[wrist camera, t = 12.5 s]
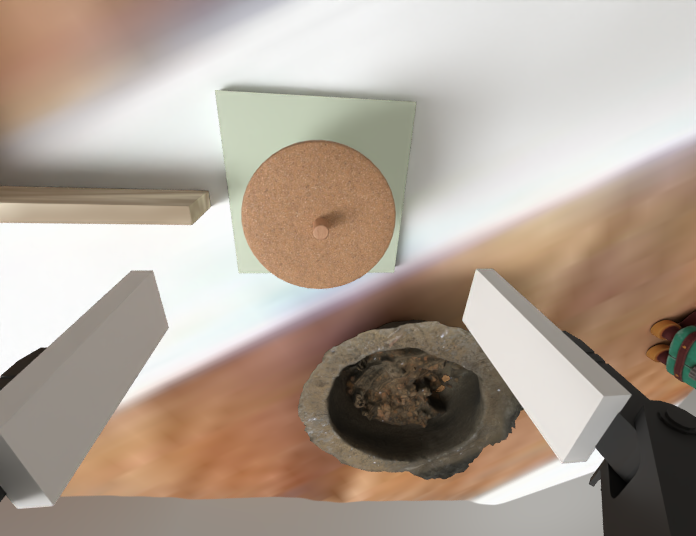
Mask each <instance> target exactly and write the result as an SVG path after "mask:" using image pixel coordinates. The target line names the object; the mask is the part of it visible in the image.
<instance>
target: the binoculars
mask: <svg viewBox="0 0 696 536" xmlns="http://www.w3.org/2000/svg"><path fill="white" fill-rule="evenodd" d="M651 333H652V334H653V335H654V336H656V337H658V338H659V339H662V340H665V339H667V340H669V341H671V345H670V346H669V345H665V344H660V345H656V346H654V347H652V348H650V349H649V350H648V351H647V354H646V355H647V357H649V358H650V359H652V360H653V361H655V362H662V363H663V364H665V365H666V369H667V371H668V372H669V373H670V374H672V375H674V376H675V378H677V379H678V380H680V381H682V382H685V383H687V384H688V385H690V386H692V387H693V388H695V389H696V311H695V312H693V313H692V314H691V315H689V316H688V317H687V318H686V319H685V320H684V321H683V322H680V323H678V324H677V323H675V322H673V321H671V320H663V321H660V322H658V323H656V324H655V325H654V326H653V327H652V328H651Z"/></svg>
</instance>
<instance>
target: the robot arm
mask: <svg viewBox="0 0 696 536" xmlns="http://www.w3.org/2000/svg"><path fill="white" fill-rule="evenodd" d="M462 321H463V322H464V324H465V325H466V327H467V328H468V329H469V331H470V332H471V334H472V335H473V337H474V338H475V339H476V341H477V342H478V344H479V345H480V347H481V348H482V350H483V351H484V352H485V354H486V355H487V357H488V358H489V360H490V361H491V362H492V364H493V365H494V367H495V368H496V370H497V371H498V372H499V374H500V375H501V377H502V378H503V380H504V381H505V383H506V384H507V385H508V387H509V388H510V390H511V391H512V393H513V394H514V395H515V397H516V398H517V400H518V401H519V403H520V404H521V406H522V407H523V408H524V410H525V411H526V413H527V414H528V416H529V417H530V418H531V420H532V421H533V423H534V424H535V426H536V427H537V428H538V430H539V431H540V433H541V434H542V436H543V437H544V439H545V440H546V441H547V443H548V444H549V446H550V447H551V449H552V450H553V451H554V453H555V454H556V456H557V457H558V459H559V460H560V461H561V463H562V464H563V463H575V462H586V461H587V460H588V458H589V457H590V455H591V454H592V453H593V451H594V450H595V448H596V449H597V450H598V451H599V452H600V454H601V455H602V456H603V457H604V458H605V459H604V460H603V462H602V463H601V465H600V466H599V467H598V469H597V470H596V472H595V473H594V474H593V476H592V477H591V479H590V482H589V484H590V485H592V486H595V484H596V483H597V481H598V480H600V479H601V491H602V509H603V510H602V511H603V530H604V536H696V417H695V416H693V415H691V414H690V413H688V412H687V411H685V410H683V409H681V408H679V407H677V406H675V405H673V404H669V403H666V402H662V401H653V400H649V399H648V398H647V397H646V396H644V395H643V394H642V393H641V392H640V391H639V390H638V389H636V388H635V387H634V386H633V385H632V384H631V383H630V382H628V381H627V380H626V379H625V378H624V377H623V376H622V375H620V374H619V373H618V372H617V371H616V370H615V369H614V368H612V367H611V366H610V365H609V364H606V363H605V361H604V360H603V359H602V358H601V357H600V356H599V355H598V354H595V353H594V351H593V350H592V349H591V348H589V347H588V346H587V345H586V344H585V343H584V342H583V341H581V340H580V339H578V338H576V337H575V336H573V335H571V334H570V333H568V332H566V331H561V330H560V329H559V328H558V327H557V326H555V325H554V324H553V323H552V322H551V321H550V320H549V319H548V318H547V317H545V316H544V315H543V314H542V313H541V312H540V311H539V310H538V309H537V308H536V307H534V306H533V305H532V304H531V303H530V302H529V301H528V300H527V299H526V298H525V297H523V296H522V295H521V294H520V293H519V292H518V291H517V290H516V289H515V288H513V287H512V286H511V285H510V284H509V283H508V282H507V281H506V280H505V279H504V278H502V277H501V276H500V275H499V274H498V273H497V272H496V271H495V270H494V269H476V271H475V275H474V278H473V282H472V286H471V289H470V293H469V297H468V301H467V304H466V308H465V312H464V315H463V319H462ZM168 328H169V327H168V323H167V320H166V316H165V313H164V309H163V305H162V302H161V298H160V294H159V291H158V287H157V284H156V280H155V276H154V273H153V271H131V272H130V273H128V274H127V275H126V276H125V277H124V278H123V279H122V280H121V281H120V282H119V283H118V284H116V285H115V286H114V287H113V288H112V289H111V290H110V291H109V292H108V293H107V294H105V295H104V296H103V297H102V298H101V299H100V300H99V301H98V302H97V303H96V304H95V305H93V306H92V307H91V308H90V309H89V310H88V311H87V312H86V313H85V314H84V315H83V316H81V317H80V318H79V319H78V320H77V321H76V322H75V323H74V324H73V325H72V326H70V327H69V328H68V329H67V330H66V331H65V332H64V333H63V334H62V335H61V336H60V337H58V338H57V339H56V340H55V341H54V342H53V343H52V344H51V345H50V346H49V347H48V348H39V349H38V350H36V351H34V352H32V353H31V354H29V355H27V356H25V357H24V358H22V359H20V360H19V361H17V362H16V363H15V364H14V365H13V366H11V367H10V368H9V369H8V370H7V371H6V372H5V373H3V374H2V375H1V376H0V502H1V500H2V499H3V498H4V496H5V495H6V496H7V497H8V498H9V499H10V501H11V502H12V503H13V504H14V505H15V506H16V508H17V509H21V508H34V507H46V506H54V504H55V503H56V501H57V500H58V498H59V497H60V495H61V494H62V492H63V491H64V489H65V487H66V486H67V484H68V483H69V481H70V480H71V478H72V477H73V475H74V473H75V472H76V470H77V469H78V467H79V466H80V464H81V463H82V461H83V460H84V458H85V456H86V455H87V453H88V452H89V450H90V449H91V447H92V446H93V444H94V443H95V441H96V439H97V438H98V436H99V435H100V433H101V432H102V430H103V429H104V427H105V425H106V424H107V422H108V421H109V419H110V418H111V416H112V415H113V413H114V412H115V410H116V408H117V407H118V405H119V404H120V402H121V401H122V399H123V398H124V396H125V395H126V393H127V391H128V390H129V388H130V387H131V385H132V384H133V382H134V381H135V379H136V378H137V376H138V374H139V373H140V371H141V370H142V368H143V367H144V365H145V364H146V362H147V360H148V359H149V357H150V356H151V354H152V353H153V351H154V350H155V348H156V347H157V345H158V343H159V342H160V340H161V339H162V337H163V336H164V334H165V333H166V331H167V330H168Z"/></svg>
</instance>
